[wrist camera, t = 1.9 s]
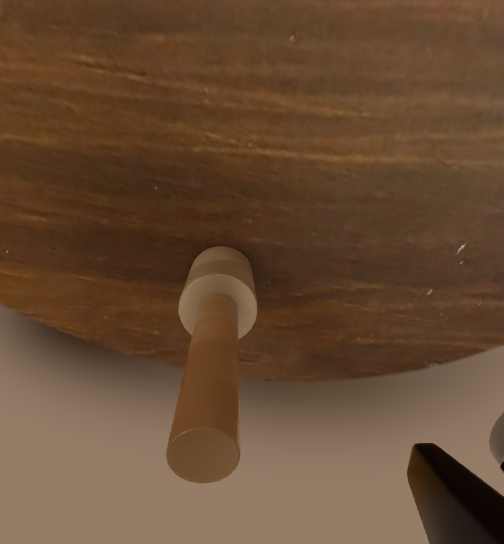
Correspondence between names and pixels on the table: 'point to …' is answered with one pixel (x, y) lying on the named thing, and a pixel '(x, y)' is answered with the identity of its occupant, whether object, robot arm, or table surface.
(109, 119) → the table surface
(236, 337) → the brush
